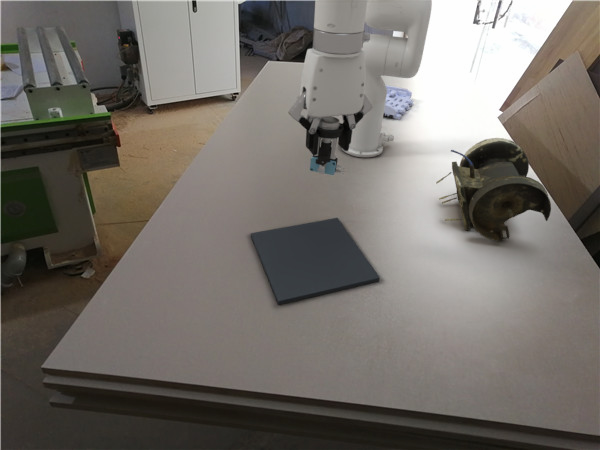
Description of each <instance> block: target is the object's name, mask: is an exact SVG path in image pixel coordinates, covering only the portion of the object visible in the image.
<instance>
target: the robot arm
mask: <svg viewBox="0 0 600 450" xmlns="http://www.w3.org/2000/svg"><path fill="white" fill-rule="evenodd" d="M314 1H315V2H314V20H313V37H312V48H307V50H306V54H305V58H304V63H303V67H302V73H301V79H300V86H299V87H300V88H299V97H298V99H296V101H295V102H294V103H293V105H292V106H291V107H290V109H288V112H287V113H288V115H289V116H290V118H292V119H294V121H296V122H297V123H299V124H300V125H301V126H302V127H303V128H304V129H305V131H306V133H305V147H306V149H307V150H308V151H309V152H310V153H311V155H312V156H313V155H316V154H317V152H318V138H319V135H318V133H317V132H316V130H317V127H318V125H319V122H320V119H321V117H330V116H332V117H338V116H339V117H340V116H341V118H342V123H341V124H342V125H343V126H344V129H343V131H342V134H341V136H340V137H338V138H337V140H338V141H337V144H338V146H339V147H340V148H341V150H342V151H343V152H344V153H346V154H347V155H350V156H353V157H357V158H375V157H378V156H379V155H381V154H382V153H383V151H384V145H383V144H385V143H390V142H393V141H394V140H395V137H394V135H393V134H386V132H381V131H382V127H383V126H382V125H383V119H384V115H385V113H384V108H385V102H386V97H387V89H386V85H387V84H386V83H385V81H384V78H383V77H391V78H400V79H412V78H414V77H416V75H417V74H418V72H419V70H420V67H421V64H422V60H423V55H424V49H425V45H426V39H427V36H428V35H427V34H428V30H429V26H430V20H431V14H432V7H433V0H314ZM365 25H366V26H368V27H369V28H371V29H375V30H382V31H390V32H391V31H392V32H398V33H399V32H400V33H405V34H406V36H407V37H403V36H393V35H387V34H378V33H370V32H366V30H365ZM303 110H306V111H307V112H306V113H307V115H306V117H305V116H304V115H303V114H301V112H302V111H303Z"/></svg>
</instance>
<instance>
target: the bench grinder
mask: <svg viewBox="0 0 600 450" xmlns="http://www.w3.org/2000/svg"><path fill="white" fill-rule="evenodd" d="M450 152H451V153H455V154H457V155H459V156H462V157H461V160H460V163H459V165H458V162H457V161H451V170H452V171H450V172H449V173H448V174H446V175H445V176H444V177H442V178H440V179H438V180H437V181H436V185H437V184H439V183H440V182H442V181H443V180H444V179H445V178H447V177H448V176H449V175H451V174H452V175H453V177H454V183H455V184H454V185H455V188H456V189H455V190H456V192H455V193H452V194H448V195H445V196H441V197H438V200H444V199H446V198H448V197H451V196H455V195H456V197H454V198H450V199H446V200H444V201H441V204H445V203H448V202H451V201H453V200H456V199H457V201H458V205H459V209H460V214H461V218H444V221H448V222H452V221H462V223H463V226H464V230H465V231H468V230H471V224H472V226H473V229H474V230H475V231H476V232H477V233H478V234H479V235H481V236H482V237H484V238H485V239H487V240H491V241H495V242H500V243H501V242H503V240H509V239H510V231H509V226H507V225H505V223H507V222H508V221H509V220H510V219H512V218H515V217H517V216H519V215H522V214H523V213H526V212H527V211H533V212H537V213H541V214H542V215H543V218H544V220H545V222H548V220H549V219H550V215H551V211H552V203H551V200H550V198H549V194H548V191H547V190H546V187H545V186H543V184H542V183H540V181H538V180H536V179H535V178H532V177H530V176H528V173H529V169H530V163H529V158H528V156H527V155H526V153H525V151H524V150H523V148H521V146H520V145H519V144H518V143H516V142H515V141H513V140H511V139H507V138H504V137H492V138H485V139H484V140H481V141H479V142H477V143H475V144H474V145H472V146H471V147H470V148H469V149H467V150H466V151H465V153H461V152H459V151H456V150H454V149H451V150H450ZM504 231H505V236H506V237H505V236H504Z"/></svg>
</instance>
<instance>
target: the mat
mask: <svg viewBox="0 0 600 450" xmlns="http://www.w3.org/2000/svg"><path fill="white" fill-rule="evenodd" d="M250 238H251V240H252V243H253V245H254V248H255V250H256V253H257V255H258V258H259V261H260V263H261V265H262V268H263V270H264V273H265V276H266V278H267V280H268V283H269V285H270V288H271V290H272V293H273V295H274V298H275V300H276V302H277V305H278V306H280V305H285V304H289V303H292V302H297V301H302V300H306V299H310V298H314V297H319V296H322V295H326V294H327V295H328V294H331V293H335V292H339V291H344V290H348V289H352V288H357V287H360V286H365V285H369V284H373V283H378V282H380V280H381V278H380V276H379V274H378V272H377V271H376V270H375V269H374V267H373V266H372V264H371V263H370V261H369V260H368V259H367V257H366V256H365V254H364V253H363V251H362V250H361V248H360V247H359V246H358V244H357V243H356V242H355V240H354V239H353V237H352V236H351V235H350V234H349V232H348V230H347V229H346V228H345V226H344V225H343V224H342V222H341V220H340V219H339V218H338V217H334V218H328V219H323V220H316V221H312V222H306V223H301V224H295V225H290V226H284V227H278V228H272V229H267V230H261V231H256V232H251V233H250Z"/></svg>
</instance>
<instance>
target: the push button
mask: <svg viewBox="0 0 600 450" xmlns="http://www.w3.org/2000/svg"><path fill="white" fill-rule="evenodd" d="M343 129H344V126H343V125H342V123H341V122H340V118H337V117H336V116H330V117H321V119H320V122H319V125H318V127H317V130H316V132H317V133H318V135H319V138H318V152H317V154H316V155H313V154H312V156H311V158H310V163H309V171H310V172H315V173H318V174H320V175H330V176H334V175H335V173H337V174H345V169H346V166H343V165H340V164H338V160H339V158H338V157H337V156H336V149H337V148H336V147H337V143H338V141H337V140H338V139H339V137H340V136H341V134H342V131H343ZM341 169H342V170H341Z"/></svg>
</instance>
